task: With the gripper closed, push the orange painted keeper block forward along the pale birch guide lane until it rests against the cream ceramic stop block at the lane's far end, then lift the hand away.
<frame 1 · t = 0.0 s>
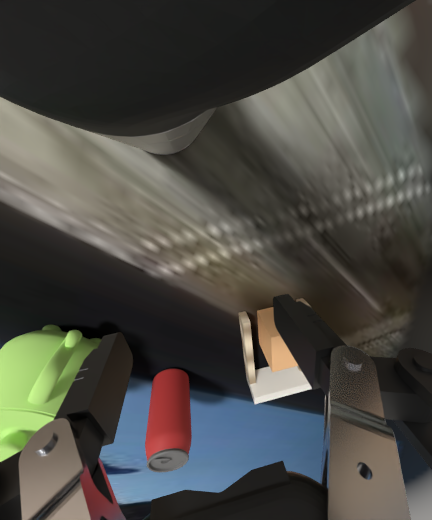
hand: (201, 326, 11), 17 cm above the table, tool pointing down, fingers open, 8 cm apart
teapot: (60, 348, 31), on the table
guide lane: (272, 338, 37), on the table
stop block: (272, 368, 42), on the table
beer can: (171, 376, 38), on the table
keeper block: (271, 324, 36), on the table
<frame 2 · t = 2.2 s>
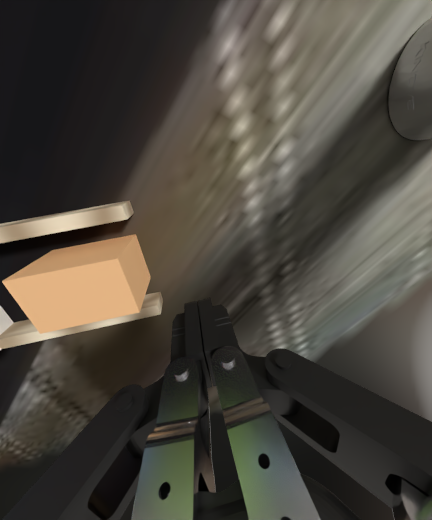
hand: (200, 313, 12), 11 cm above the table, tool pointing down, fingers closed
guide lane: (69, 272, 20), on the table
keeper block: (105, 264, 21), on the table
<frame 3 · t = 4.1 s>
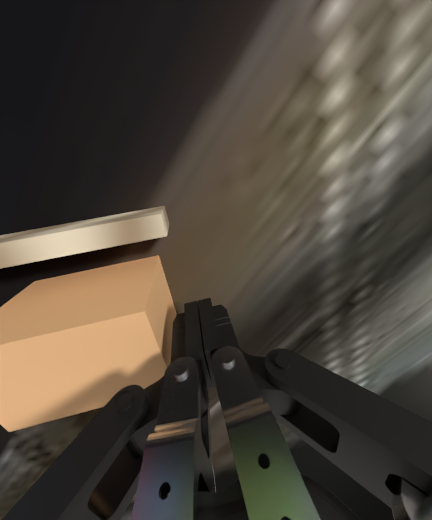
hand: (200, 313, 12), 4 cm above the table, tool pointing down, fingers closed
guide lane: (71, 308, 14), on the table
keeper block: (112, 298, 14), on the table, touching gripper
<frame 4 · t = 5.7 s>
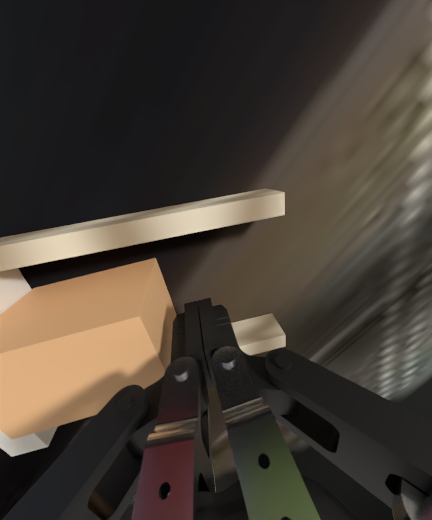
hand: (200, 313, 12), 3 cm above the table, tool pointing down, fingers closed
guide lane: (164, 290, 14), on the table
stop block: (33, 319, 14), on the table
keeper block: (111, 302, 14), on the table, touching gripper
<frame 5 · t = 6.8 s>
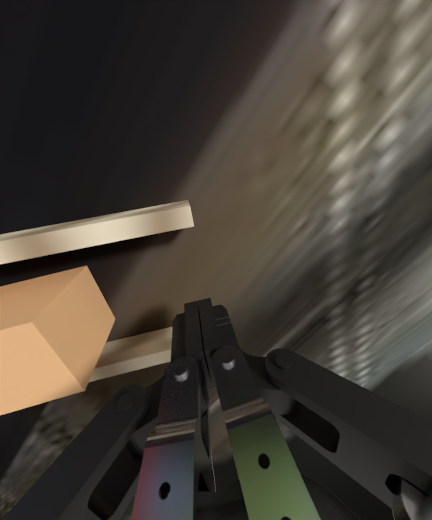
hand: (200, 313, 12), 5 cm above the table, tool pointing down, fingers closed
guide lane: (99, 295, 15), on the table
keeper block: (48, 307, 15), on the table
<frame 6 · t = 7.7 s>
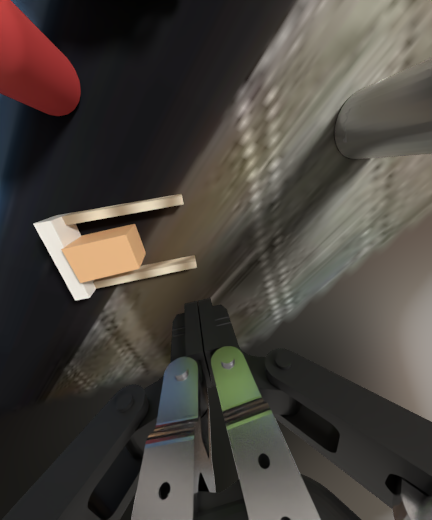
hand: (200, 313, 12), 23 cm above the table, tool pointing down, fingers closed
guide lane: (139, 239, 32), on the table
stop block: (80, 250, 31), on the table
beer can: (52, 83, 23), on the table
keeper block: (115, 244, 32), on the table
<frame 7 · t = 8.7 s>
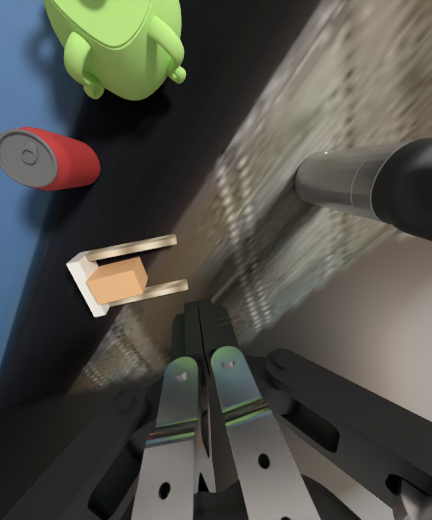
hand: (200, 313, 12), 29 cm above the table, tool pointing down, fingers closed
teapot: (132, 34, 27), on the table
guide lane: (142, 268, 41), on the table
stop block: (97, 277, 40), on the table
beer can: (79, 163, 32), on the table
keeper block: (124, 272, 41), on the table
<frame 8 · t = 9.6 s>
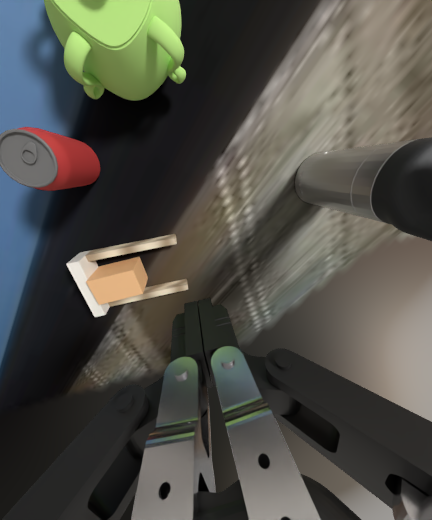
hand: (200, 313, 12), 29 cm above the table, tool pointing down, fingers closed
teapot: (132, 34, 27), on the table
guide lane: (143, 268, 41), on the table
stop block: (97, 277, 40), on the table
beer can: (79, 163, 32), on the table
keeper block: (124, 272, 41), on the table
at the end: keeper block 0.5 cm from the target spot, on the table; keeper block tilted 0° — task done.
